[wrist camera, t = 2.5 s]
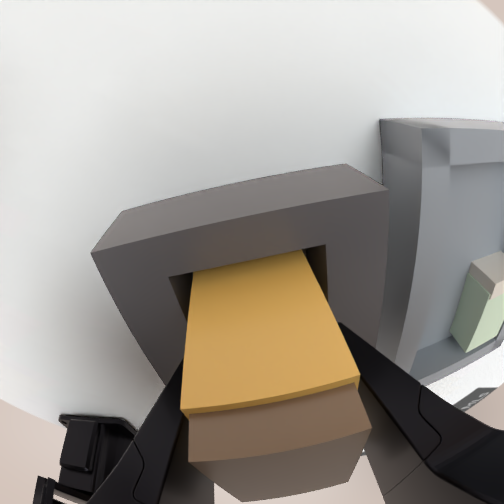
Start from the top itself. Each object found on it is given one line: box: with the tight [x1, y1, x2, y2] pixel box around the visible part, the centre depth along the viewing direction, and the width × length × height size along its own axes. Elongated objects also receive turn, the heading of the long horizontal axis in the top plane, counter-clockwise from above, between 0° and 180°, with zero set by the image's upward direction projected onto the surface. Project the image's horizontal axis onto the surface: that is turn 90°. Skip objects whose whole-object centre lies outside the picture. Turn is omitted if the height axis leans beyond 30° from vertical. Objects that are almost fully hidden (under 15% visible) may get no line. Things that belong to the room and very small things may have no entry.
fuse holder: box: [91, 164, 389, 385], centre depth 10 cm, size 8×8×3 cm
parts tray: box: [376, 118, 504, 386], centre depth 11 cm, size 14×10×2 cm
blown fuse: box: [180, 249, 372, 502], centre depth 8 cm, size 5×3×7 cm
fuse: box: [450, 251, 504, 353], centre depth 12 cm, size 5×3×2 cm, turn 10°
